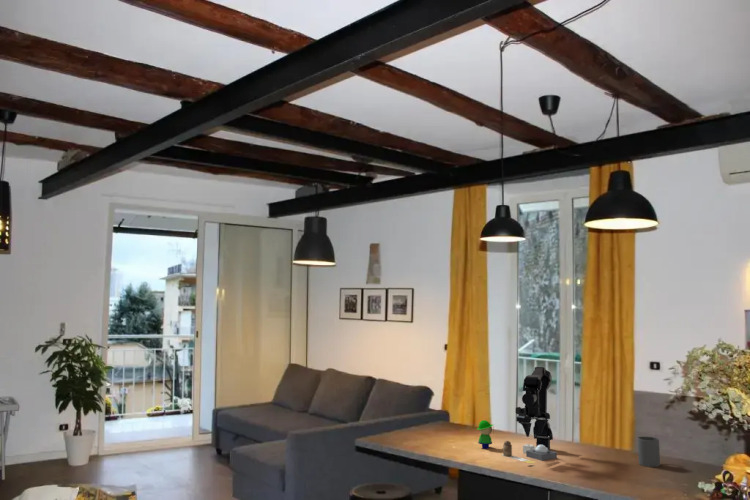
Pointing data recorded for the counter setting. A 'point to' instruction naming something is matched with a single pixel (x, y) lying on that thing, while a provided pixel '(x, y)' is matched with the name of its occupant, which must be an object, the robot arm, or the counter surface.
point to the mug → (648, 451)
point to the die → (527, 448)
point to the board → (521, 460)
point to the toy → (485, 433)
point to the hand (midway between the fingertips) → (533, 435)
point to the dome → (541, 449)
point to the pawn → (507, 449)
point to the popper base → (541, 455)
